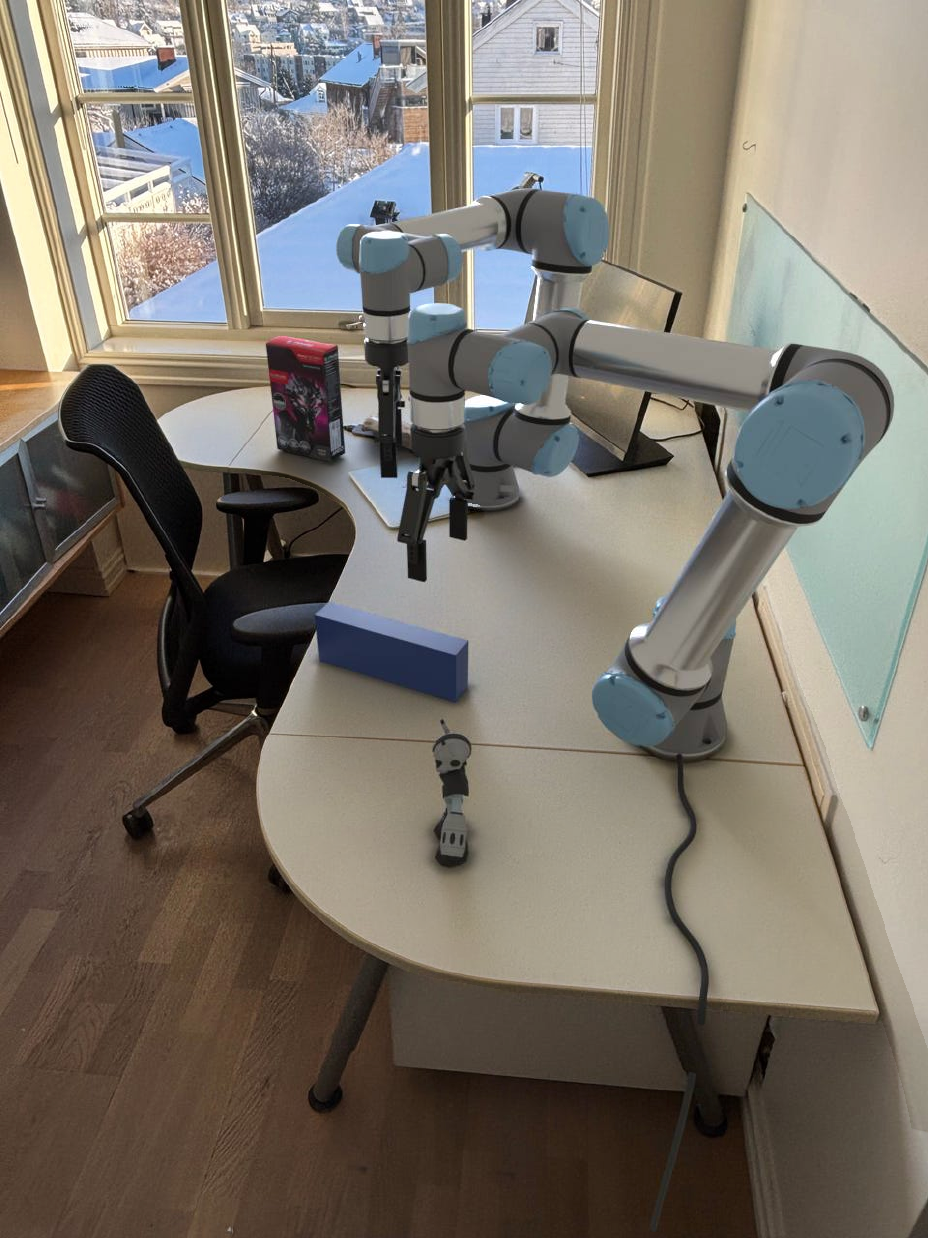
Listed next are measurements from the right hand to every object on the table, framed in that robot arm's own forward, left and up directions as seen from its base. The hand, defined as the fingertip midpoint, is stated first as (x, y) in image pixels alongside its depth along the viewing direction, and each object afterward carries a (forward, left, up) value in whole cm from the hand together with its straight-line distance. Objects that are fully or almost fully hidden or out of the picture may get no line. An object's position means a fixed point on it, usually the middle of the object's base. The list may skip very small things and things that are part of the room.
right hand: (438, 557), depth 138 cm
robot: (-32, -11, -25) cm, 42 cm away
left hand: (+25, +16, +3) cm, 30 cm away
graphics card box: (+82, +58, -25) cm, 103 cm away
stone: (+94, +39, -25) cm, 105 cm away
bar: (+2, +9, -25) cm, 26 cm away
